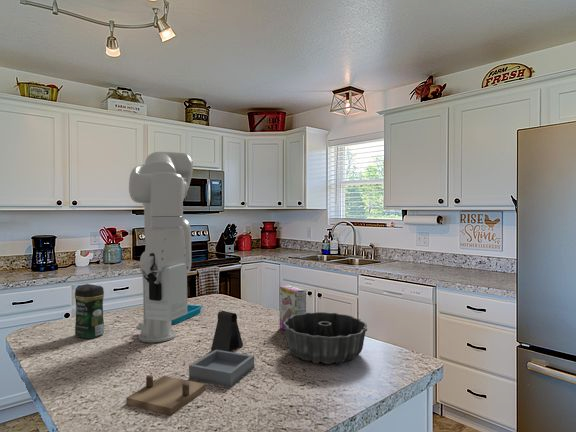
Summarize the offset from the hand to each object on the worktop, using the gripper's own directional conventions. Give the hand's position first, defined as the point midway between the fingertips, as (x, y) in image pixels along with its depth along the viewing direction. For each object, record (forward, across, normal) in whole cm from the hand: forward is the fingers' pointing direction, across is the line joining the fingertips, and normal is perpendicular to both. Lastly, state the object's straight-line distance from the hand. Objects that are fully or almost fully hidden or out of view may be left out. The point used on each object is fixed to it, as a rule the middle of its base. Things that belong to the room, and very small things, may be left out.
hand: (167, 295), depth 94 cm
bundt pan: (+25, -42, +27) cm, 56 cm away
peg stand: (+25, 0, 0) cm, 25 cm away
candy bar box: (+25, -59, +9) cm, 64 cm away
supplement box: (+5, 0, 0) cm, 5 cm away
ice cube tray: (+26, -59, -43) cm, 77 cm away
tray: (+25, -17, +5) cm, 30 cm away
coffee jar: (+25, -26, -57) cm, 67 cm away
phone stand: (+25, -34, -4) cm, 42 cm away
